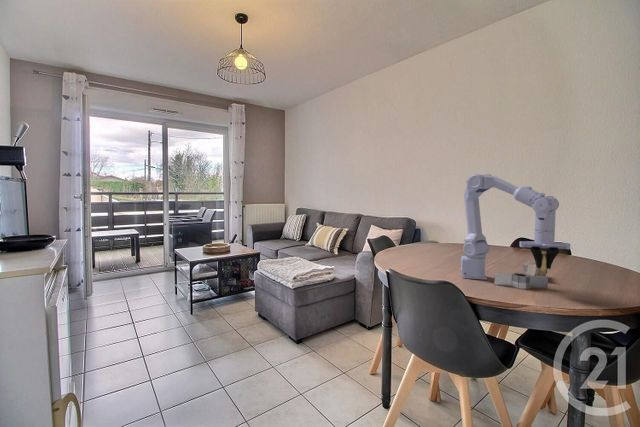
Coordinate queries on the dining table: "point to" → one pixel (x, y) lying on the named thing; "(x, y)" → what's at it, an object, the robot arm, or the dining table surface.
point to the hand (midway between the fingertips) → (543, 268)
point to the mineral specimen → (531, 269)
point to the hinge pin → (543, 263)
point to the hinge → (521, 280)
